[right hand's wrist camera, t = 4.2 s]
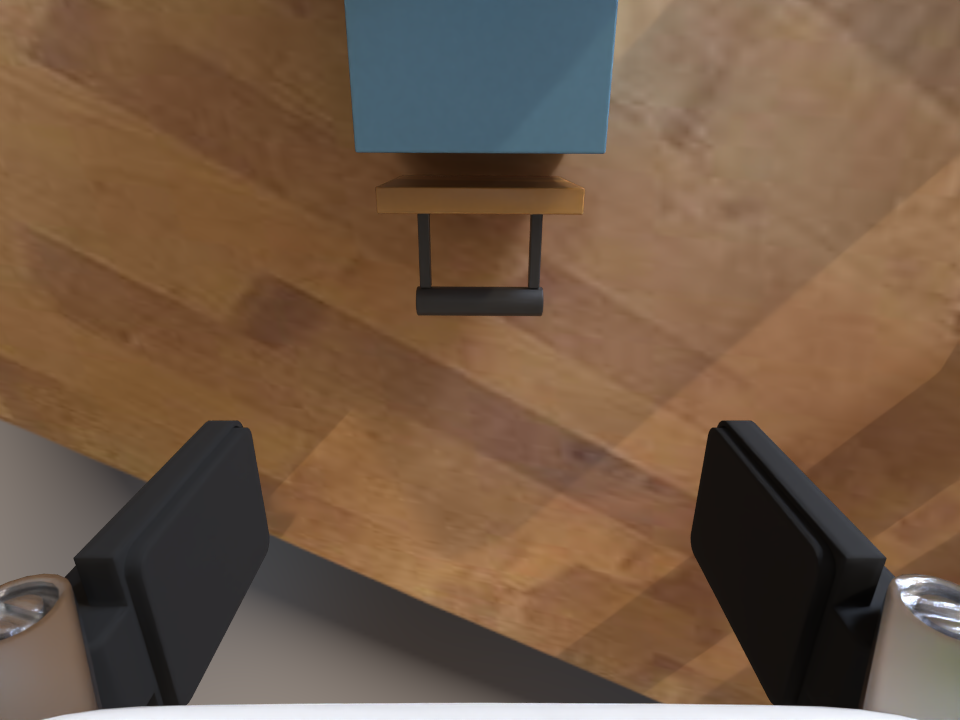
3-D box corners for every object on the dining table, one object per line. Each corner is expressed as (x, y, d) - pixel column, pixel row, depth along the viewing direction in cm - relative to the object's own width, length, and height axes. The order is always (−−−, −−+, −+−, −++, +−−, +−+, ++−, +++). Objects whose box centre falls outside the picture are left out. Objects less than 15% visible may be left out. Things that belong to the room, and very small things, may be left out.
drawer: (552, 290, 37) (574, 335, 28) (406, 289, 37) (384, 334, 28) (576, -142, 28) (618, -265, 20) (387, -144, 28) (346, -267, 20)
